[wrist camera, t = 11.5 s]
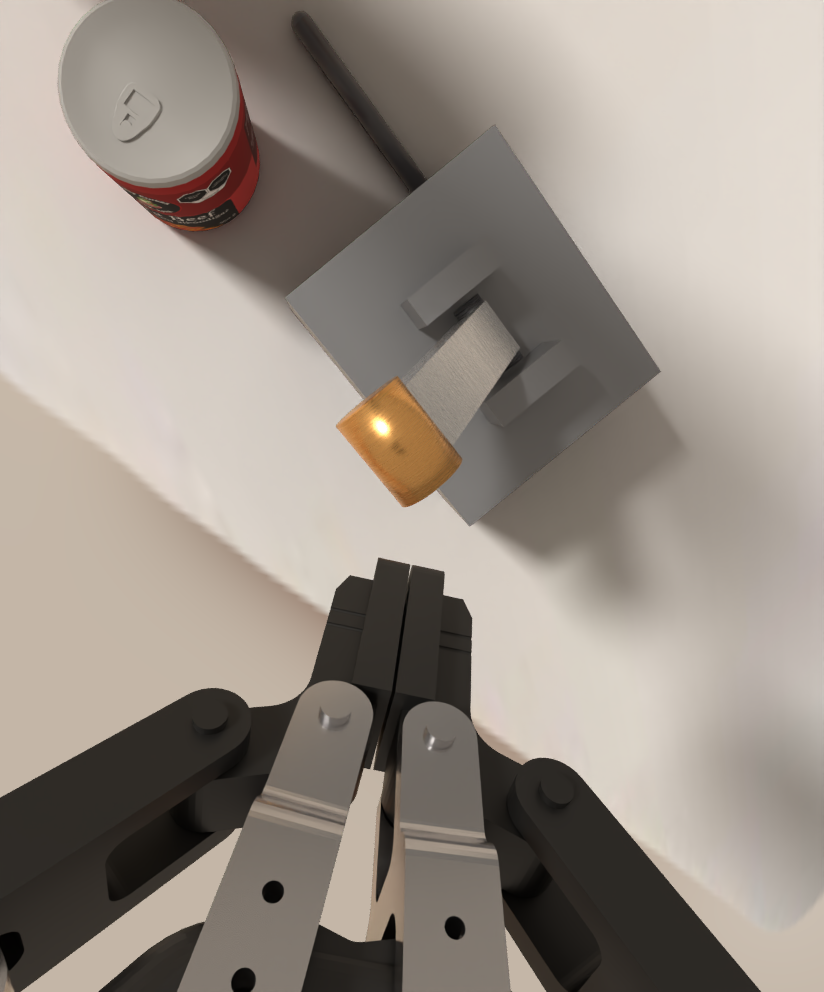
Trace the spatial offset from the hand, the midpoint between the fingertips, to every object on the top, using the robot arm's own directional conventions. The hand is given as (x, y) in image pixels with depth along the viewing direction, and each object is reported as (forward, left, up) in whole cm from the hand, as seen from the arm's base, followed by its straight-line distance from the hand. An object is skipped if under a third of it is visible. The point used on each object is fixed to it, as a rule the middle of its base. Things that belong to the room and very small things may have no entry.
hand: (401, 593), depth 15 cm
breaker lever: (-1, +10, -21) cm, 23 cm away
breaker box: (-7, +10, -30) cm, 32 cm away
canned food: (-19, +4, -30) cm, 36 cm away
